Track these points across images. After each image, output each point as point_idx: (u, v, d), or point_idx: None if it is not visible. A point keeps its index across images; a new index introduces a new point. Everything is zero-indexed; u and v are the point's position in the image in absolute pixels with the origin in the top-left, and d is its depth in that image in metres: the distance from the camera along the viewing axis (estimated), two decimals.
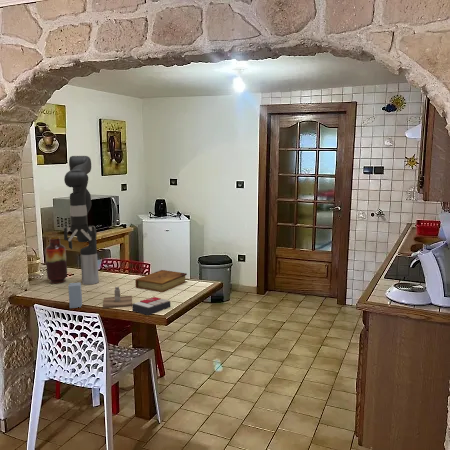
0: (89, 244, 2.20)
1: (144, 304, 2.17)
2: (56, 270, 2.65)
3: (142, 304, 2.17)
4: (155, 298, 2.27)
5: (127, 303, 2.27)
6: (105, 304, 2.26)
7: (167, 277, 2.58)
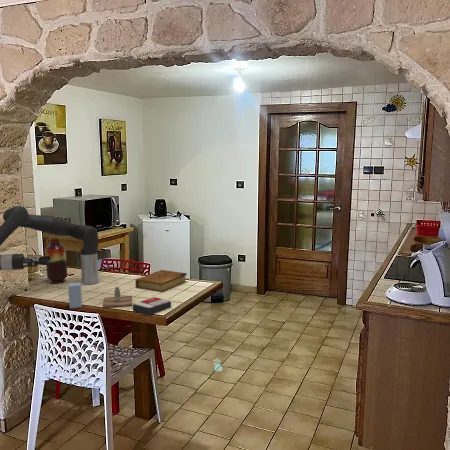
0: (43, 264, 2.17)
1: (145, 304, 2.17)
2: (56, 270, 2.65)
3: (143, 304, 2.17)
4: (156, 298, 2.27)
5: (127, 303, 2.27)
6: (105, 304, 2.26)
7: (167, 277, 2.58)
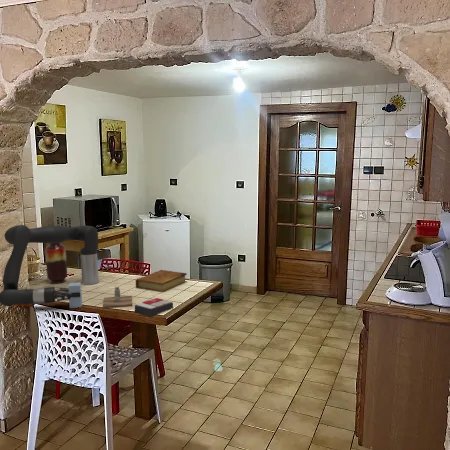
0: (76, 296, 2.24)
1: (146, 305, 2.15)
2: (56, 270, 2.65)
3: (144, 305, 2.15)
4: (157, 299, 2.25)
5: (127, 303, 2.27)
6: (105, 304, 2.26)
7: (167, 277, 2.58)
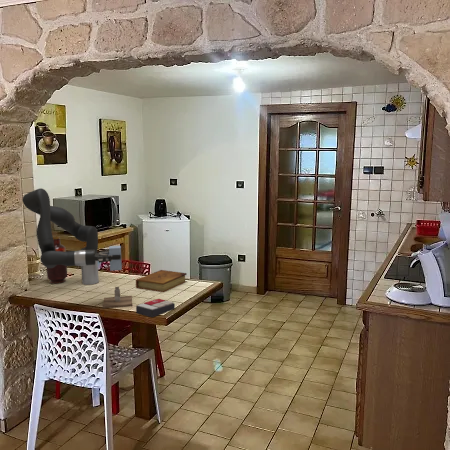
0: None
1: (148, 306, 2.14)
2: (56, 270, 2.65)
3: (146, 306, 2.14)
4: (159, 300, 2.24)
5: (127, 303, 2.27)
6: (105, 304, 2.26)
7: (167, 277, 2.58)
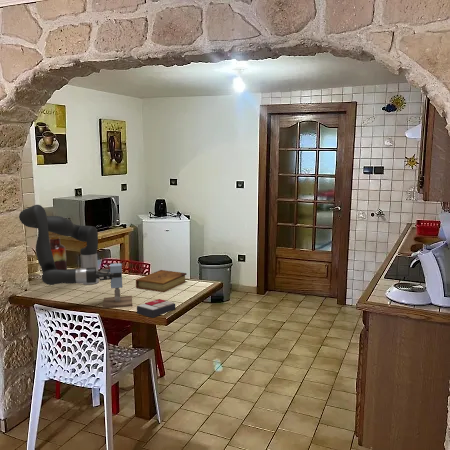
0: None
1: (149, 306, 2.14)
2: None
3: (146, 306, 2.14)
4: (160, 300, 2.24)
5: (127, 303, 2.27)
6: (105, 304, 2.26)
7: (167, 277, 2.58)
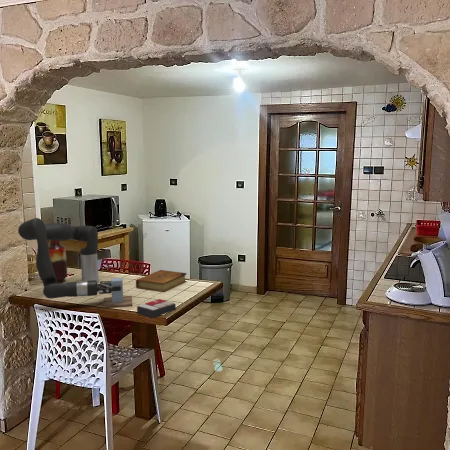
0: (117, 290, 2.26)
1: (149, 306, 2.14)
2: (56, 270, 2.65)
3: (147, 306, 2.14)
4: (160, 300, 2.23)
5: (127, 303, 2.27)
6: (105, 304, 2.26)
7: (167, 277, 2.58)
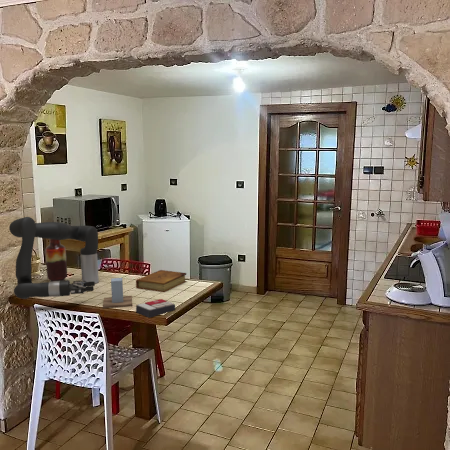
0: (89, 290, 2.23)
1: (147, 306, 2.14)
2: (56, 270, 2.65)
3: (145, 306, 2.14)
4: (161, 300, 2.23)
5: (127, 303, 2.27)
6: (105, 304, 2.26)
7: (167, 277, 2.58)
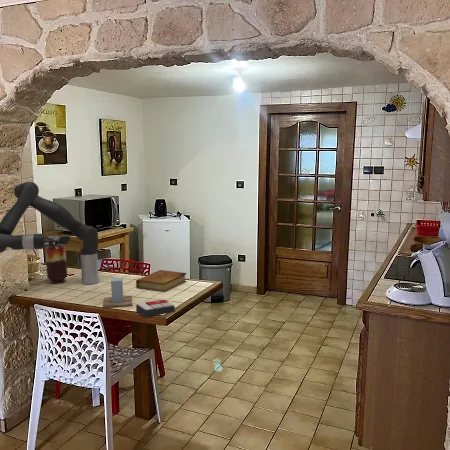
0: (64, 243, 2.23)
1: (145, 306, 2.15)
2: (56, 270, 2.65)
3: (144, 306, 2.15)
4: (162, 301, 2.23)
5: (127, 303, 2.27)
6: (105, 304, 2.26)
7: (168, 277, 2.58)
